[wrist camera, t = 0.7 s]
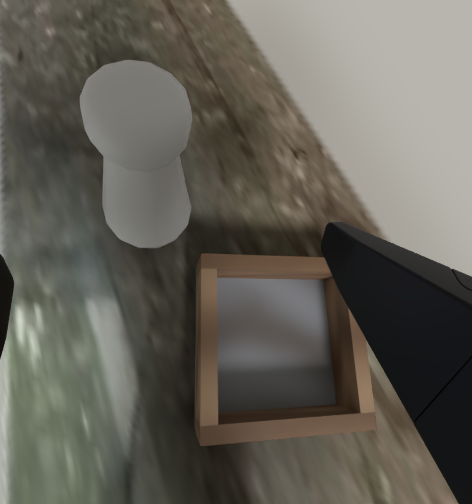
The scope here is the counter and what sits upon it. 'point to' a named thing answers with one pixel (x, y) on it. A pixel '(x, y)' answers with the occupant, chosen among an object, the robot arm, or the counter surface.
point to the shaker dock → (276, 352)
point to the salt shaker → (140, 149)
